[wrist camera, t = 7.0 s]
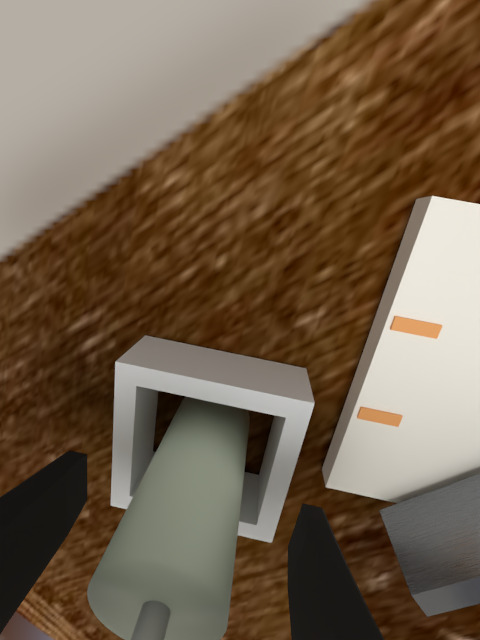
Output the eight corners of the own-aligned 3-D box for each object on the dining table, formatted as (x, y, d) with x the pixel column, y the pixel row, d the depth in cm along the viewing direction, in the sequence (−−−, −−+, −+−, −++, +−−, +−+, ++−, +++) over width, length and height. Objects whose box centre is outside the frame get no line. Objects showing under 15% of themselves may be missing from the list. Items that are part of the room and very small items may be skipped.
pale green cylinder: (255, 395, 13) (223, 740, 4) (243, 455, 14) (198, 823, 5) (181, 380, 13) (5, 684, 4) (175, 440, 14) (25, 776, 5)
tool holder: (306, 368, 12) (314, 403, 10) (271, 490, 14) (271, 542, 12) (145, 335, 12) (115, 361, 10) (136, 460, 15) (110, 505, 12)
